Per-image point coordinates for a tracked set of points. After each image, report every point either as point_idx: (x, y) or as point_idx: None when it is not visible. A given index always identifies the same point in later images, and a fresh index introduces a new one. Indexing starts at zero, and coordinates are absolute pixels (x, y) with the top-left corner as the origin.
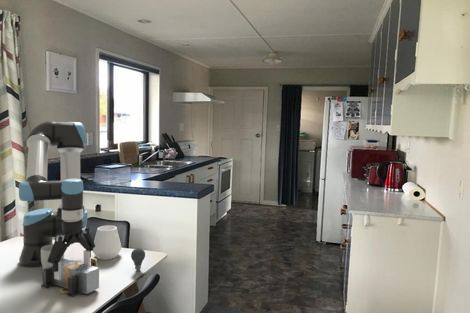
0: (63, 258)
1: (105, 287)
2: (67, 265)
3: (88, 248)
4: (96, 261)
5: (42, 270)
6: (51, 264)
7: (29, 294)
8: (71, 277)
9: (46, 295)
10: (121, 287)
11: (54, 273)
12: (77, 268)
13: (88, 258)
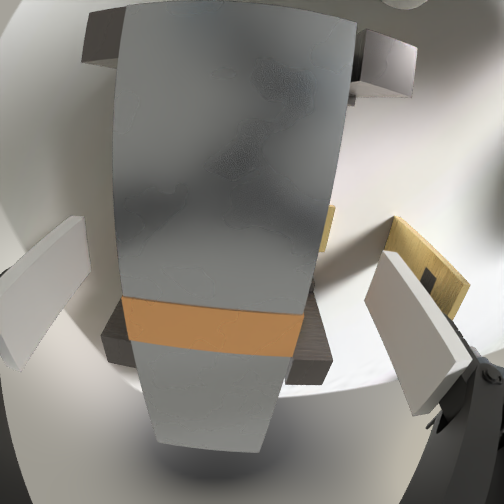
0: (353, 50)
1: None
2: (171, 279)
3: (429, 444)
4: None
5: (91, 18)
6: (123, 52)
7: (58, 71)
8: (116, 354)
9: (85, 160)
10: (312, 392)
11: (46, 239)
12: (175, 385)
13: (391, 356)
